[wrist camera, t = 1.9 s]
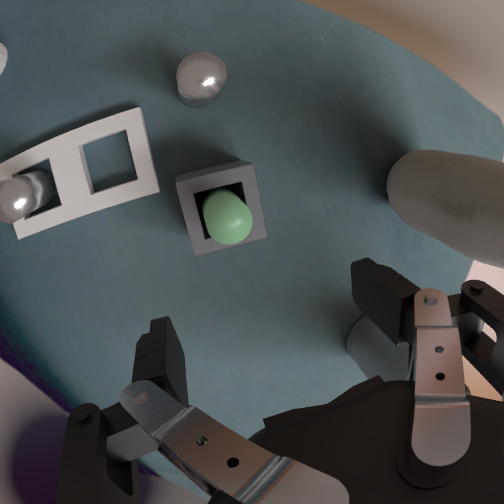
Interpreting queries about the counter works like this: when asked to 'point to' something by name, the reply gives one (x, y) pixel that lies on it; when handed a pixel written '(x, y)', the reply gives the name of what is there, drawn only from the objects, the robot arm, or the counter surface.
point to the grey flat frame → (85, 171)
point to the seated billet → (25, 194)
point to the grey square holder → (213, 178)
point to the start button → (226, 216)
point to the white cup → (3, 57)
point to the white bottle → (452, 200)
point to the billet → (200, 78)
